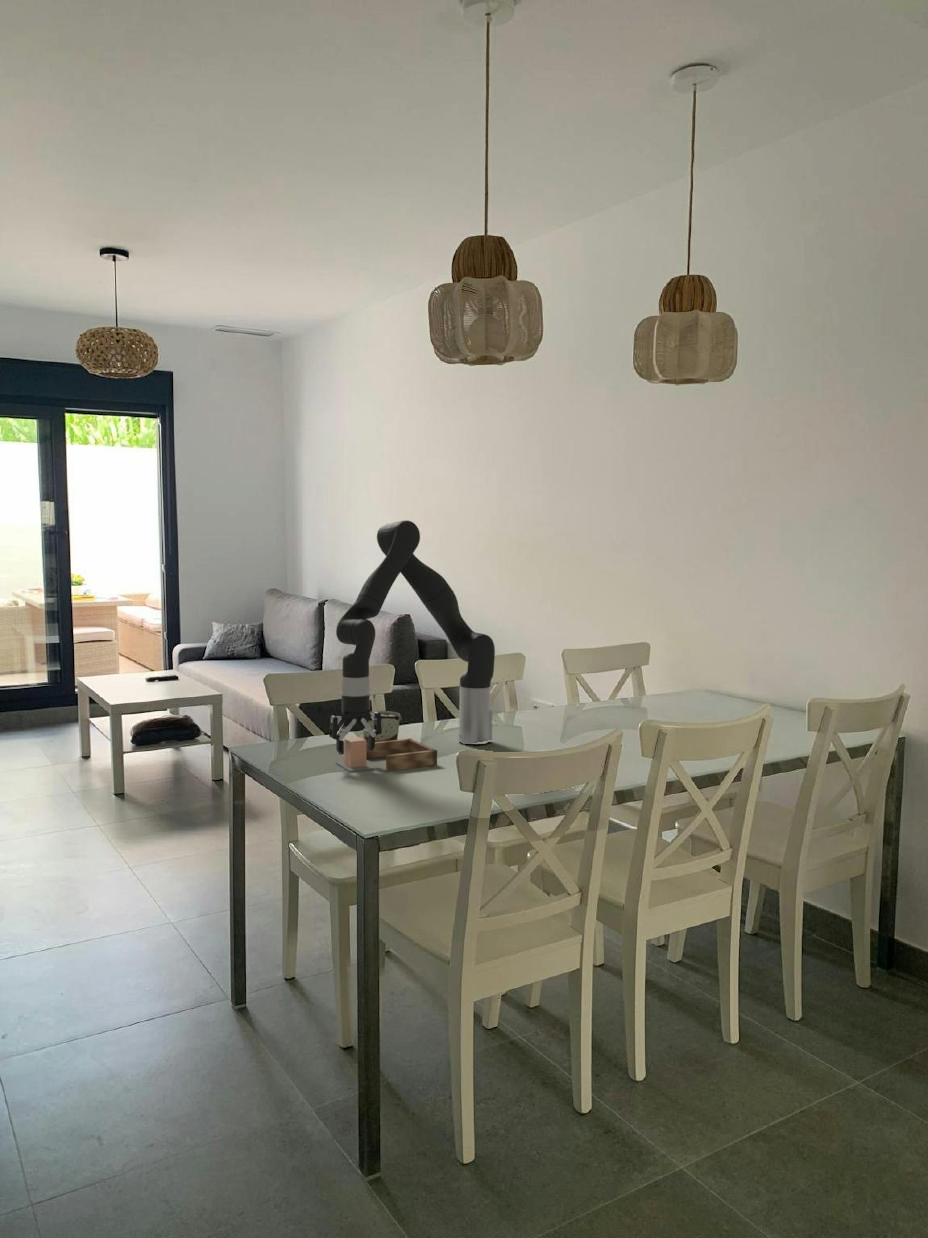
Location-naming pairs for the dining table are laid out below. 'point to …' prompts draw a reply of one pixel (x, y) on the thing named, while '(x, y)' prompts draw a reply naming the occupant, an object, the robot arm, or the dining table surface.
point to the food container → (386, 726)
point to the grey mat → (354, 767)
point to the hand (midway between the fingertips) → (355, 752)
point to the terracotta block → (355, 752)
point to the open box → (403, 754)
